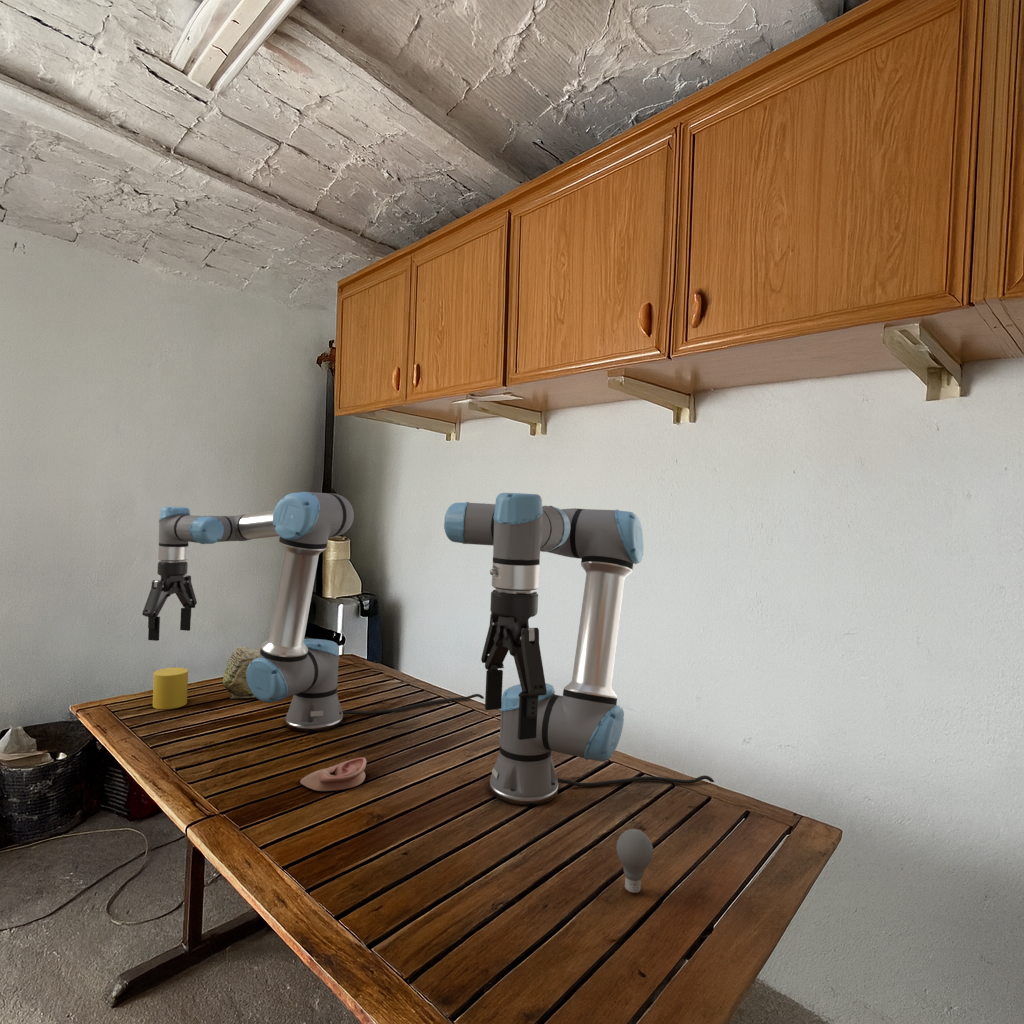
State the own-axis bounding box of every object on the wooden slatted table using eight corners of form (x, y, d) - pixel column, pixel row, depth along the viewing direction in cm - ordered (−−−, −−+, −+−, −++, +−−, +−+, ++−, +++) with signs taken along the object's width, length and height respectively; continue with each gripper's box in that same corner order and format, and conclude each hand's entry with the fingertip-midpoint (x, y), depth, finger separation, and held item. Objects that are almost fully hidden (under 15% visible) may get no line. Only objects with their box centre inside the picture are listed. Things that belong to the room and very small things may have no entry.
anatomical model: (293, 769, 137) (319, 749, 148) (292, 787, 137) (319, 766, 148) (350, 777, 134) (372, 756, 145) (349, 796, 134) (372, 773, 146)
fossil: (218, 695, 195) (220, 647, 195) (278, 685, 208) (279, 640, 207) (228, 703, 189) (230, 653, 188) (289, 692, 201) (290, 645, 201)
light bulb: (610, 879, 108) (613, 822, 108) (644, 879, 109) (647, 822, 109) (619, 902, 102) (622, 840, 102) (655, 901, 103) (658, 840, 103)
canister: (157, 700, 189) (158, 667, 189) (190, 698, 192) (191, 667, 191) (148, 709, 181) (149, 676, 181) (182, 708, 183) (183, 675, 183)
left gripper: (188, 556, 193) (185, 625, 194) (129, 564, 168) (126, 643, 169) (211, 557, 192) (208, 627, 193) (155, 566, 168) (151, 645, 168)
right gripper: (466, 579, 110) (461, 700, 111) (526, 603, 88) (519, 755, 88) (505, 579, 114) (500, 696, 114) (573, 602, 91) (567, 749, 91)
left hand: (169, 635), depth 181 cm, fingers open, 13 cm apart
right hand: (508, 722), depth 101 cm, fingers open, 13 cm apart
